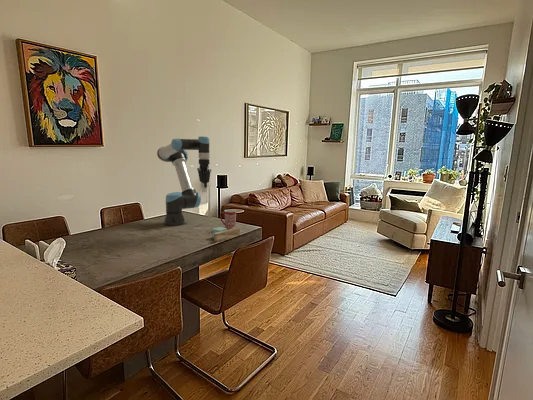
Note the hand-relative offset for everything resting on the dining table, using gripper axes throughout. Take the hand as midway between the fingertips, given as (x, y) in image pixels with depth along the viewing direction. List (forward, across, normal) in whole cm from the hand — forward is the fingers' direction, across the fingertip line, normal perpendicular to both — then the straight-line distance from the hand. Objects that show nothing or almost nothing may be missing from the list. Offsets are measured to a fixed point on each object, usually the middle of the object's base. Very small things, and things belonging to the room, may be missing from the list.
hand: (204, 191), depth 227 cm
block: (+27, +26, -9) cm, 38 cm away
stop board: (+26, +30, -7) cm, 41 cm away
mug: (+27, +14, +10) cm, 32 cm away
